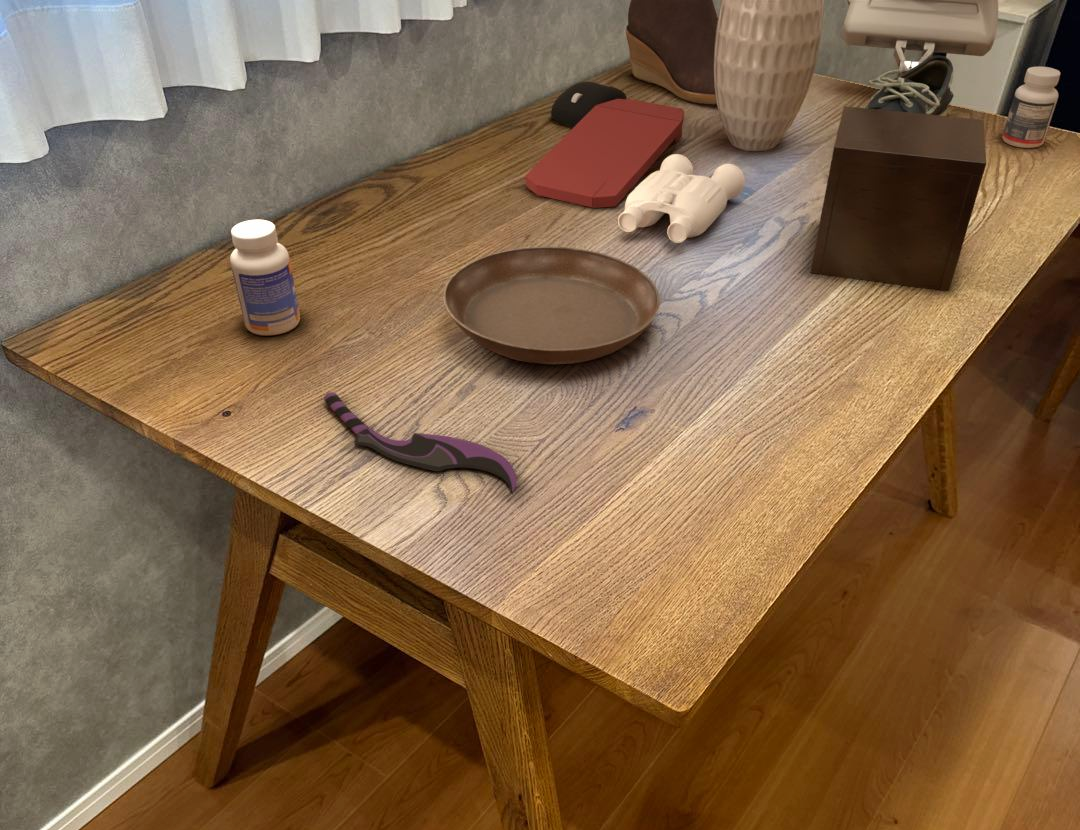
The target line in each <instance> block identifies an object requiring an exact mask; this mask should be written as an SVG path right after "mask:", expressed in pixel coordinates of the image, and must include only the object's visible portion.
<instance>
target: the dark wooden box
mask: <svg viewBox="0 0 1080 830" xmlns="http://www.w3.org/2000/svg"><path fill="white" fill-rule="evenodd" d="M837 129H838V130H837V134H836V138H835V141H834V145H833V151H832V155H831V161H830V166H829V171H828V176H827V183H826V187H825V192H824V198H823V202H822V207H821V208H822V209H821V214H820V219H819V224H818V230H817V234H816V240H815V245H814V251H813V256H812V261H811V265H810V271H809V272H810V273H811V274H818V275H825V276H833V277H839V278H840V277H841V278H847V279H854V280H855V279H856V280H863V281H870V282H876V283H877V282H878V283H884V284H892V285H900V286H907V287H915V288H922V289H929V290H938V291H945V292H949V291H950V289H951V286H952V284H953V283H952V282H953V279H954V276H955V273H956V270H957V266H958V262H959V259H960V255H961V252H962V249H963V245H964V242H965V238H966V235H967V232H968V228H969V224H970V221H971V218H972V215H973V211H974V207H975V204H976V200H977V197H978V194H979V190H980V187H981V184H982V180H983V177H984V173H985V170H986V167H987V151H986V150H987V149H986V148H987V147H986V132H985V131H986V130H985V119H978V118H971V117H961V116H960V117H959V116H950V115H949V116H948V115H946V116H940V115H929V114H919V113H909V112H899V111H889V110H878V109H868V108H866V107H856V106H847V105H844V106H843V108H842V113H841V116H840V121H839V125H838V128H837Z"/></svg>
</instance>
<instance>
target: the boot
mask: <svg viewBox="0 0 1080 830" xmlns="http://www.w3.org/2000/svg"><path fill="white" fill-rule="evenodd" d="M716 11H717V10H716V7H715V5H714V0H630V3H629V6H628V11H627V12H628V13H627V25H626V27H625V36H626V40H627V45H628V50H629V58H630V63H631V70H632V75H633V77H634V78H637V79H638V80H642V81H643V82H647V83H649V84H655V85H657V86H660V87H661V88H664V89H666V90H668V91H670V93H672V94H674V95H675V96H676V97H678V98H680V99H682V100H684V101H687V102H692V103H698V104H703V105H717V101H716V94H715V88H714V48H715V38H716V29H717V22H718V14H717V12H716Z"/></svg>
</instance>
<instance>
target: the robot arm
mask: <svg viewBox="0 0 1080 830" xmlns="http://www.w3.org/2000/svg"><path fill="white" fill-rule="evenodd" d="M847 4H848V5H849V6H848V9H847V11H846V15H845V18H844V22H843V28H842V35H841V38H842V40H843V41H844V43H845V44H846V45H848V46H859V47H869V48H871V47H872V48H882V49H892V50H894V51H893V57H894V60H895V62H896V65H897V67H898V70H900V72H899V73H897V75H896V78H897V77H898V76H900V75H901V74H903V73H905V72H907V71H909V70H911V69H912V68H914V67H915V66H917V65H919V64H920V63H922V62H923V61H924V60H926V59H928V58H930V57H933V56H934V55H933V54H934V53H940V54H951V55H961V56H971V57H972V56H973V57H974V56H975V57H984V56H986V55H987V54H989V52H990V51H991V50H992V47H993V45H994V43H995V40H996V35H997V31H998V30H997V29H998V22H999V21H998V20H999V0H847ZM905 51H916V52H921V56H920V57H921V58H920V59H919V60H918V61H912V60H906V57H905Z"/></svg>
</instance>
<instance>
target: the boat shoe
mask: <svg viewBox="0 0 1080 830" xmlns="http://www.w3.org/2000/svg"><path fill="white" fill-rule="evenodd" d="M899 72H900V70H899V69H893V70H889V71H886V72H884V73H882V74H880V75H879V76H878V77H877V78H873V79H870V80H869V81H868V85H870V86H873V87H879V88H881V87H882V88H881V89H880V90H878V91H876V92H875V93H874V94H873V95H871V97H870V101H869V102H868V104H867V105H866V106H865V108H868V109H878V110H889V111H899V112H909V113H919V114H929V115H940V116H948V111H949V105H950V104H951V103H952V101H953V99H954V92H953V91H952V90H951V86H952V84H953V81H954V66H953V63H952V61H951V60H950V59H949V58H948V57H946V56H945V55H932V57H930V58H928V59H926V60H924V61H923V62H922V63H920V64H919V65H917V66H915V67H914V68H912V69H911V70H909V71H907V72H905V73H903V74H901V75H900V76H898V77H897V76H896V77H895V78H893V79H892V78H890V77H888V76H891V75H893V74H898V73H899Z"/></svg>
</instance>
